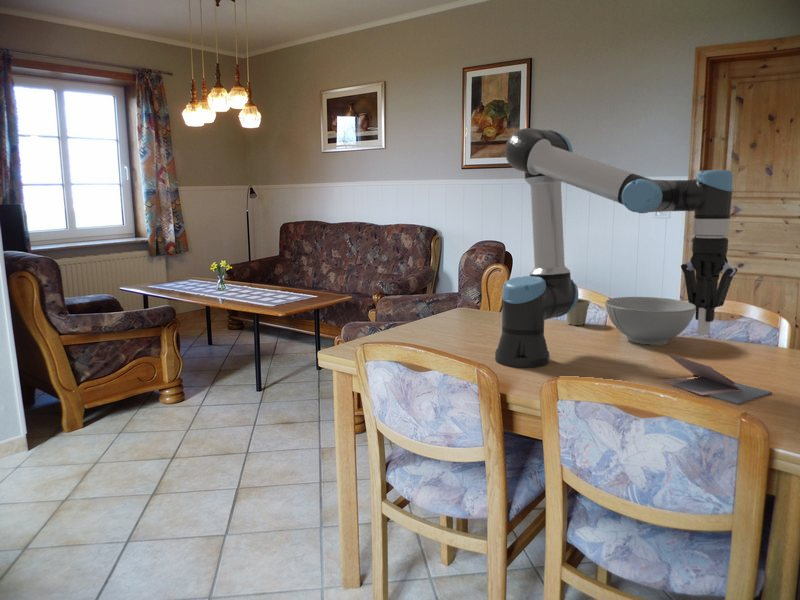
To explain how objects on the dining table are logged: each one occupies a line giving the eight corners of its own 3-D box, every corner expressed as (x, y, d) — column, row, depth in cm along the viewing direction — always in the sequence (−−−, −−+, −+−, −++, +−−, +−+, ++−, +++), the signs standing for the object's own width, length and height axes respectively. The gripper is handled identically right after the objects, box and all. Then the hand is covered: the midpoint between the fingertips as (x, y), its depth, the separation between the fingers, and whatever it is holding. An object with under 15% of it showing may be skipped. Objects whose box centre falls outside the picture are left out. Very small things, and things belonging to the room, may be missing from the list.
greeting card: (696, 372, 154) (743, 387, 140) (681, 396, 154) (727, 414, 139) (666, 350, 151) (712, 363, 136) (651, 374, 150) (695, 390, 136)
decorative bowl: (587, 339, 192) (588, 303, 190) (630, 327, 209) (632, 294, 207) (668, 356, 172) (671, 315, 170) (708, 341, 189) (711, 303, 187)
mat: (737, 404, 131) (737, 402, 131) (672, 385, 145) (672, 384, 145) (771, 393, 138) (771, 391, 138) (706, 376, 152) (706, 375, 152)
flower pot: (557, 322, 219) (558, 299, 217) (579, 320, 222) (580, 298, 220) (572, 327, 210) (573, 303, 209) (594, 325, 213) (595, 302, 211)
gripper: (747, 237, 137) (738, 337, 141) (694, 234, 148) (687, 327, 152) (728, 238, 133) (720, 341, 137) (675, 236, 144) (669, 331, 148)
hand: (703, 333), depth 144 cm, fingers closed
